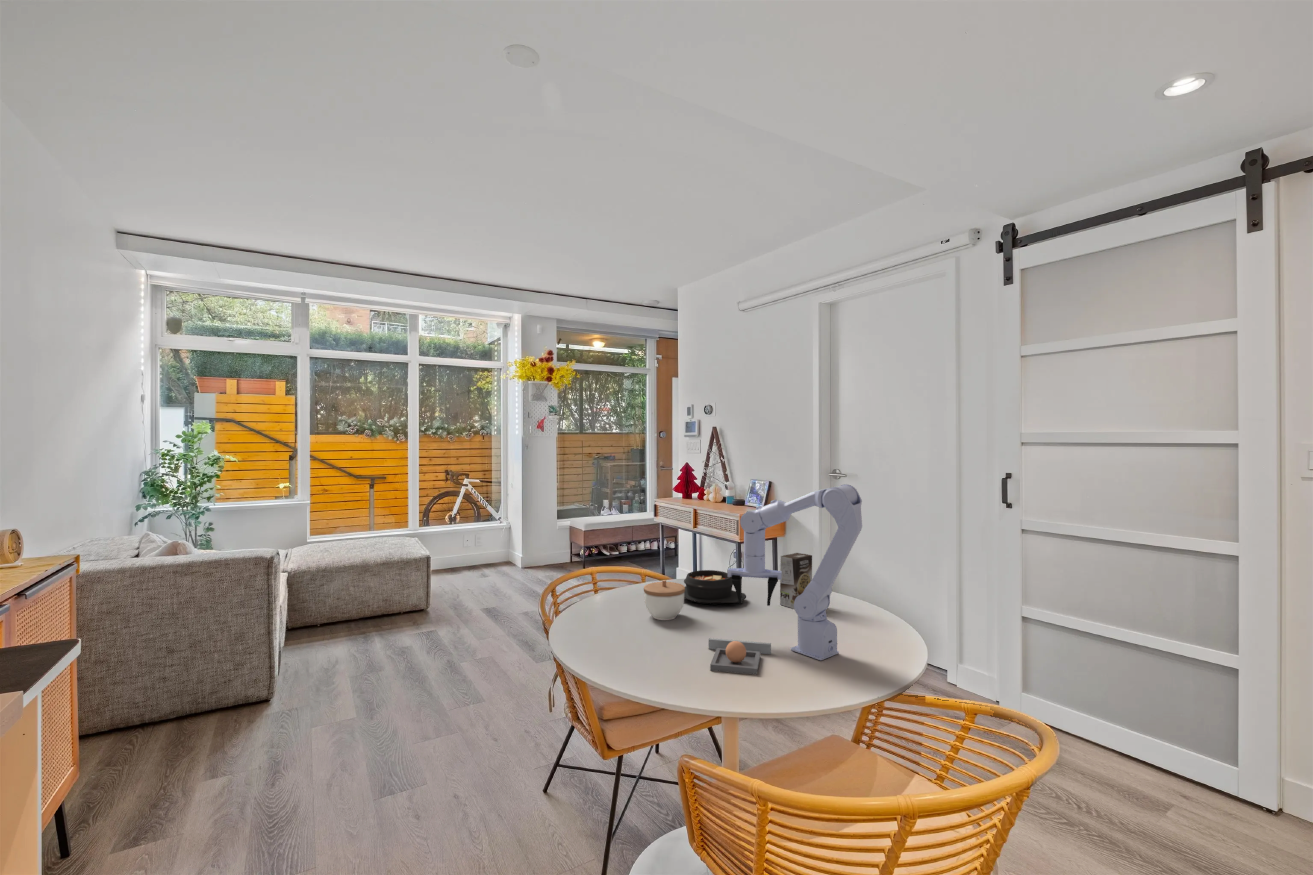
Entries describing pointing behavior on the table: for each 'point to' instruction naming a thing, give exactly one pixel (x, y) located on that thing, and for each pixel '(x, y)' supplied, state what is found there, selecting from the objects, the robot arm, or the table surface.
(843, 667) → the table surface
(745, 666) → the coaster
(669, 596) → the lidded bowl
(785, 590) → the coffee box
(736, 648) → the ball
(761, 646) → the divider
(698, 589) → the casserole
